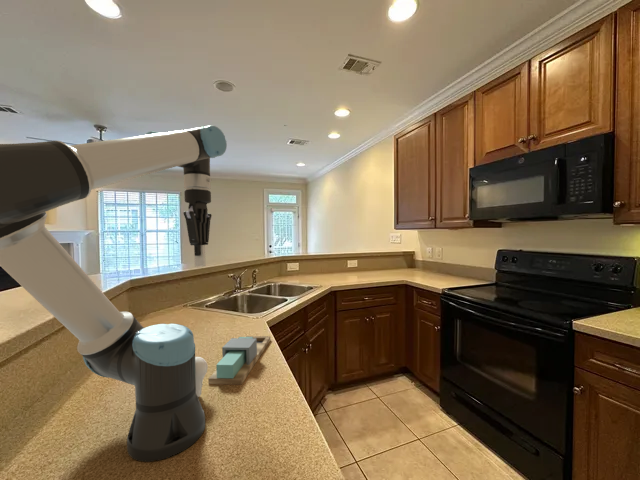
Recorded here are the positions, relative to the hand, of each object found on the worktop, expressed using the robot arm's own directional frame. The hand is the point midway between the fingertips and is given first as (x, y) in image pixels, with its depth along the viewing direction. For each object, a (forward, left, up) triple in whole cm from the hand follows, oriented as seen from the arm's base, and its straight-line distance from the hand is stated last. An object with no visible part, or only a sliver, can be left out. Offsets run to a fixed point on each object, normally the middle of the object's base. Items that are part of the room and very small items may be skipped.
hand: (200, 266), depth 88 cm
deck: (+12, -9, -34) cm, 38 cm away
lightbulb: (-12, -4, -35) cm, 37 cm away
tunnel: (+8, -9, -33) cm, 35 cm away
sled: (+5, -9, -33) cm, 34 cm away
